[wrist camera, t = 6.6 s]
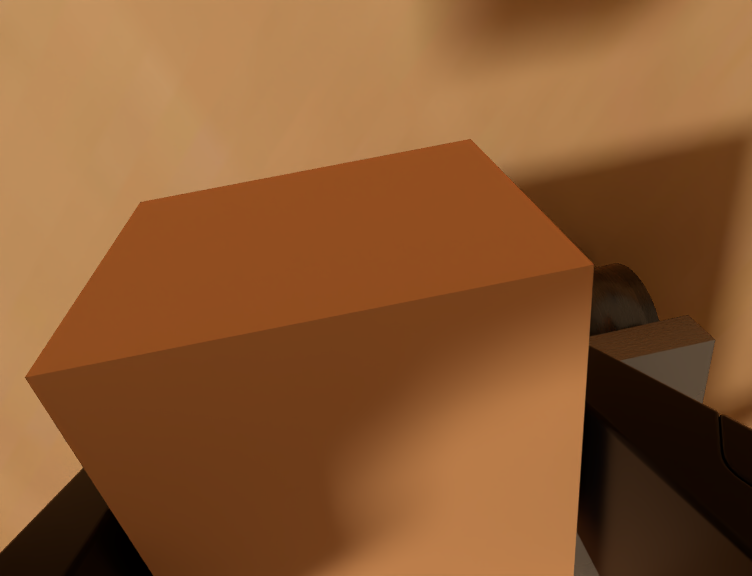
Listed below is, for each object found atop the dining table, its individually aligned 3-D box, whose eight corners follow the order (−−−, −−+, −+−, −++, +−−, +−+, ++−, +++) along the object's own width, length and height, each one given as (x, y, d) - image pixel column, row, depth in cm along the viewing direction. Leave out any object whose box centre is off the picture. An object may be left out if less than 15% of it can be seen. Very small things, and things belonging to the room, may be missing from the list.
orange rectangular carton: (470, 138, 8) (594, 264, 5) (488, 422, 11) (570, 621, 8) (140, 202, 8) (24, 378, 5) (250, 471, 11) (230, 694, 8)
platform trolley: (619, 239, 19) (880, 464, 10) (597, 533, 28) (728, 782, 19) (306, 306, 19) (316, 591, 10) (386, 580, 28) (426, 853, 19)
